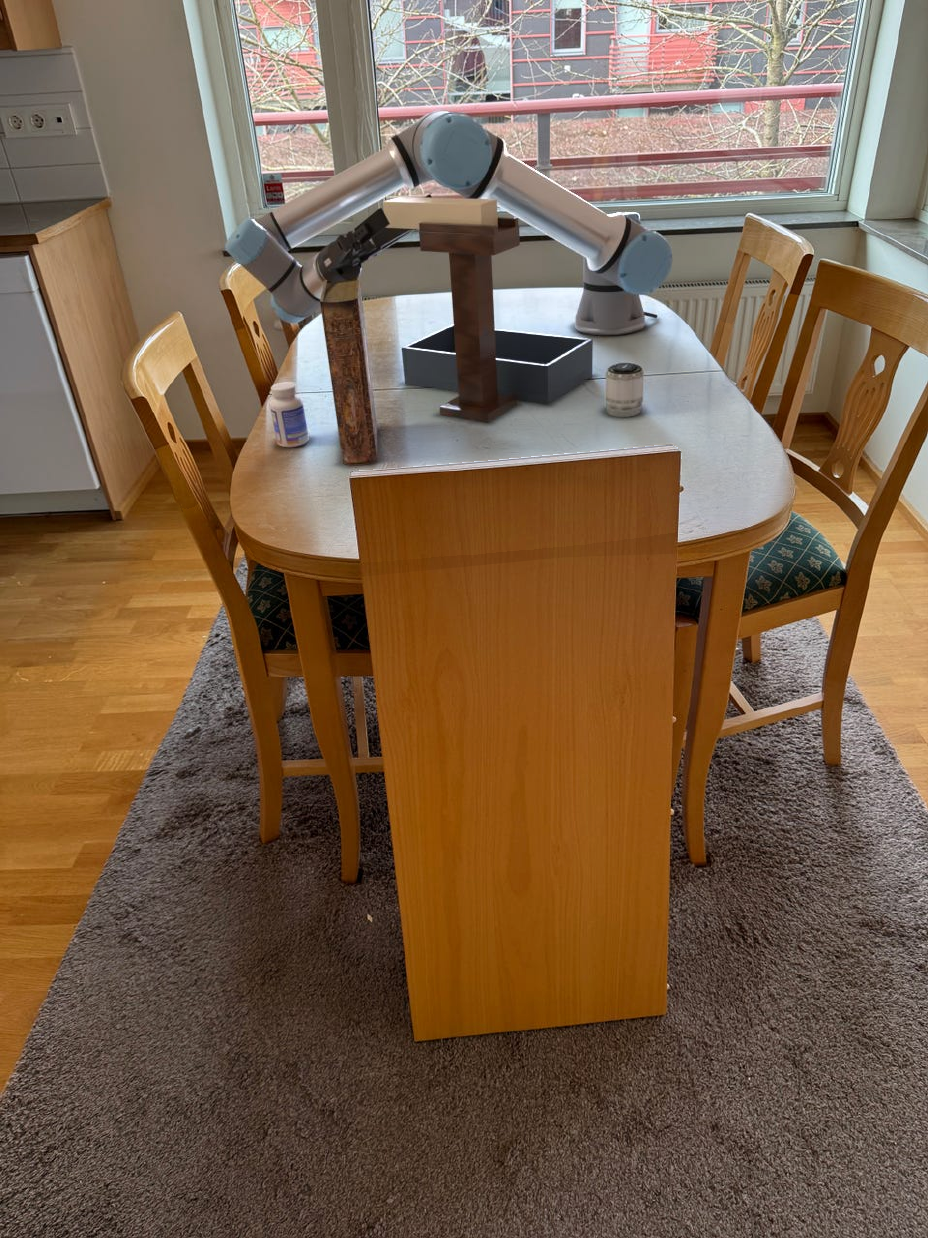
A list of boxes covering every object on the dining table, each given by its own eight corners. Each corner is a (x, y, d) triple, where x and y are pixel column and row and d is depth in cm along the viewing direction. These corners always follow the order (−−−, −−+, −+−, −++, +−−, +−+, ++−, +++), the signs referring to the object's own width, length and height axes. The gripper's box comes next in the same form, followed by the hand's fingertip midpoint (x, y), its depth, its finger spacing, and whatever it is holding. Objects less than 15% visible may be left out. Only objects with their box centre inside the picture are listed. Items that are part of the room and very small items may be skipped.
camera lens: (646, 406, 158) (648, 361, 153) (636, 419, 153) (638, 373, 149) (611, 403, 160) (612, 359, 156) (600, 415, 155) (601, 370, 151)
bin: (592, 376, 174) (592, 339, 170) (548, 405, 161) (547, 366, 158) (454, 358, 189) (452, 324, 185) (404, 383, 177) (401, 347, 173)
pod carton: (498, 226, 146) (496, 199, 143) (482, 232, 142) (480, 204, 140) (402, 222, 155) (399, 196, 153) (385, 227, 151) (382, 201, 149)
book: (377, 463, 144) (357, 300, 130) (342, 466, 144) (319, 303, 130) (377, 426, 158) (359, 275, 144) (345, 429, 157) (324, 278, 144)
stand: (527, 405, 162) (522, 216, 145) (498, 424, 155) (489, 227, 138) (461, 395, 169) (449, 213, 152) (430, 413, 162) (414, 224, 145)
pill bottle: (314, 437, 155) (305, 381, 150) (299, 449, 151) (290, 391, 146) (286, 435, 157) (276, 379, 152) (271, 447, 153) (260, 390, 148)
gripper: (385, 274, 174) (461, 217, 159) (297, 305, 157) (374, 245, 142) (365, 237, 172) (441, 175, 158) (274, 265, 155) (350, 199, 141)
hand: (409, 208), depth 150 cm, fingers open, 13 cm apart
